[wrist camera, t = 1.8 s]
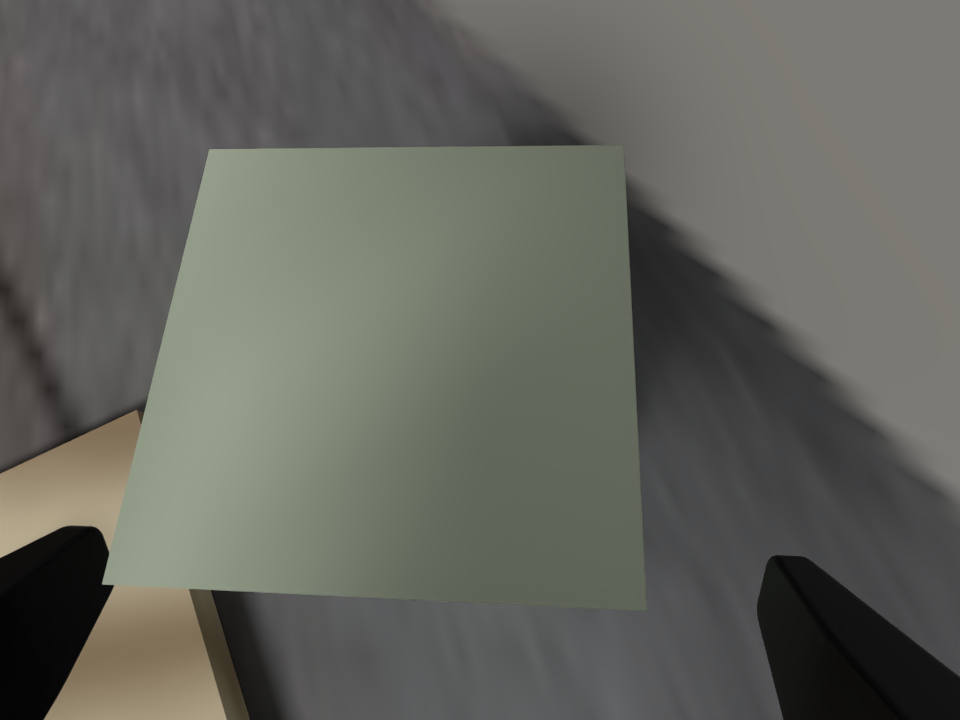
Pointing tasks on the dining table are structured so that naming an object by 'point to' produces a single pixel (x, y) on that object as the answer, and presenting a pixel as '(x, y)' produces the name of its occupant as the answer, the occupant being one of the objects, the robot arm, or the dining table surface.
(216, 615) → the base
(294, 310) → the block
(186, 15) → the dining table surface
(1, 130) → the dining table surface
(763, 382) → the dining table surface
